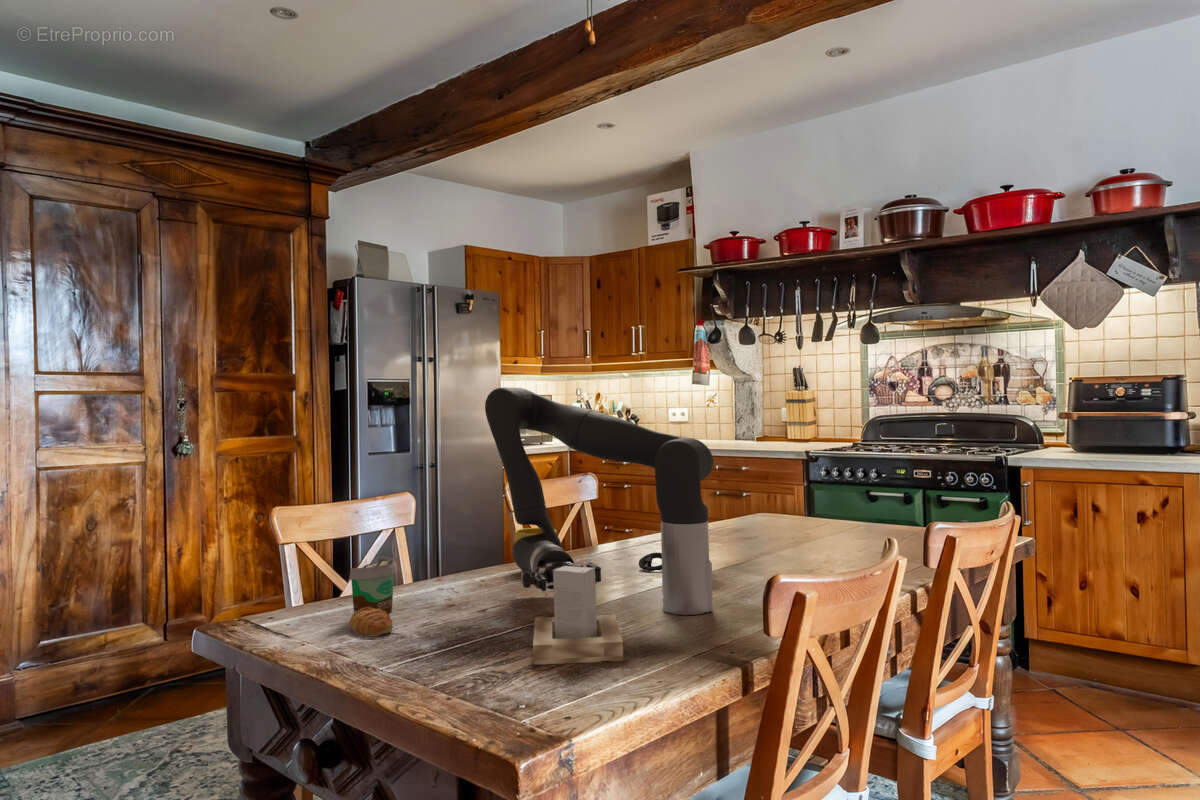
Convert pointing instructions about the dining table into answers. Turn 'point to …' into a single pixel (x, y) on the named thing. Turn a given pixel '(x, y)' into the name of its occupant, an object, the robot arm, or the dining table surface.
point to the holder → (577, 643)
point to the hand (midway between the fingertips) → (568, 583)
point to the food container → (374, 585)
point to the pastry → (370, 622)
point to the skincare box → (574, 602)
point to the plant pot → (527, 532)
